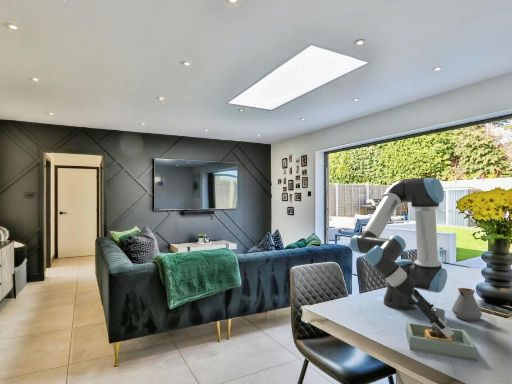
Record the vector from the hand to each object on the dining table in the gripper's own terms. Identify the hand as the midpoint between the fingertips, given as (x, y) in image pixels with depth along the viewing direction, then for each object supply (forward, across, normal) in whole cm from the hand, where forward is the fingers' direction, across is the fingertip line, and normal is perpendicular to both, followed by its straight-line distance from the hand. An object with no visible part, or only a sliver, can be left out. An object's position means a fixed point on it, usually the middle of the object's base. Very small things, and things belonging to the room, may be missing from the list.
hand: (447, 329), depth 112 cm
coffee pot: (+14, -34, +4) cm, 37 cm away
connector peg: (+2, 0, -6) cm, 6 cm away
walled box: (+2, 0, -7) cm, 7 cm away
